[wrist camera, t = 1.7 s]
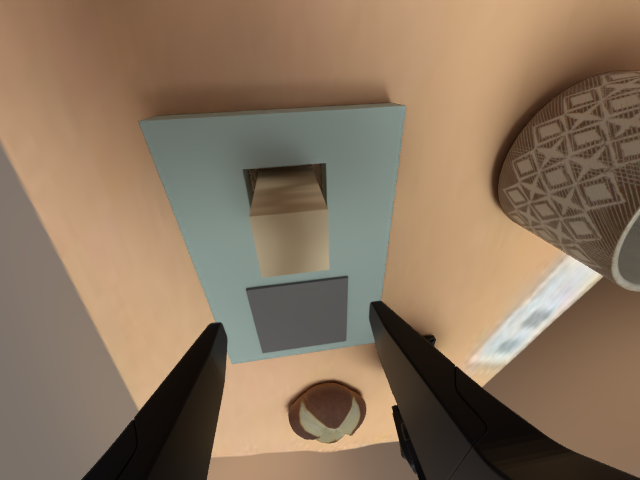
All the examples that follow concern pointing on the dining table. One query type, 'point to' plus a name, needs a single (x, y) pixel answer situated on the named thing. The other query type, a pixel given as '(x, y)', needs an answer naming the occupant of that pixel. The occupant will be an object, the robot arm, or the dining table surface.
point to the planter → (582, 175)
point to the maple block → (289, 222)
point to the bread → (327, 413)
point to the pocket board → (235, 229)
